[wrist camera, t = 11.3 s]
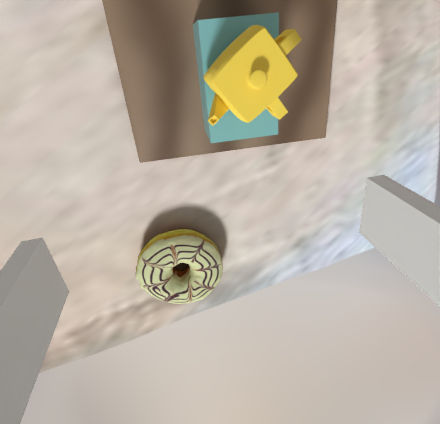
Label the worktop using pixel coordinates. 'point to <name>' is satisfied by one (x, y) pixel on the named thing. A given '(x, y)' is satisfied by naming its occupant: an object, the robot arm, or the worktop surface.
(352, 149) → the worktop surface
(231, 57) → the teapot
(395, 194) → the robot arm
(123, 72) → the walnut board
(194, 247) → the decorated donut
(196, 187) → the worktop surface
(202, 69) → the base brick
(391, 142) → the worktop surface
